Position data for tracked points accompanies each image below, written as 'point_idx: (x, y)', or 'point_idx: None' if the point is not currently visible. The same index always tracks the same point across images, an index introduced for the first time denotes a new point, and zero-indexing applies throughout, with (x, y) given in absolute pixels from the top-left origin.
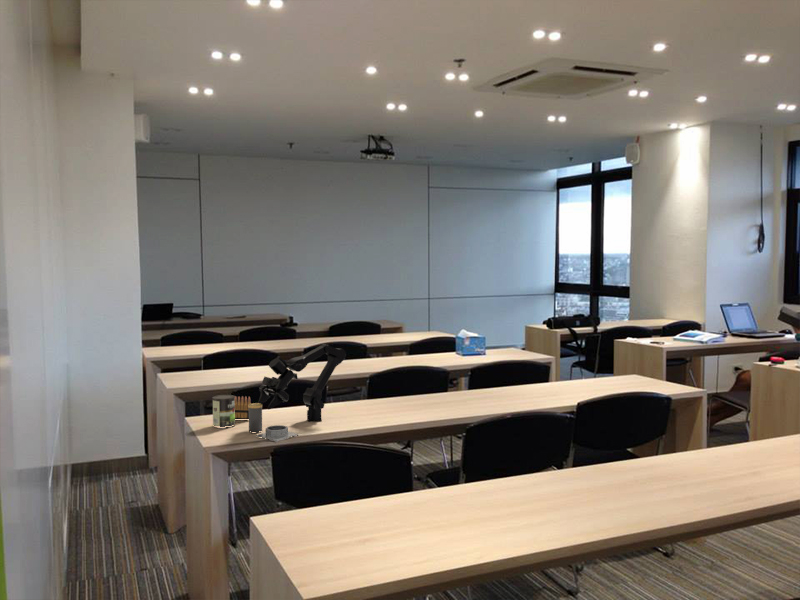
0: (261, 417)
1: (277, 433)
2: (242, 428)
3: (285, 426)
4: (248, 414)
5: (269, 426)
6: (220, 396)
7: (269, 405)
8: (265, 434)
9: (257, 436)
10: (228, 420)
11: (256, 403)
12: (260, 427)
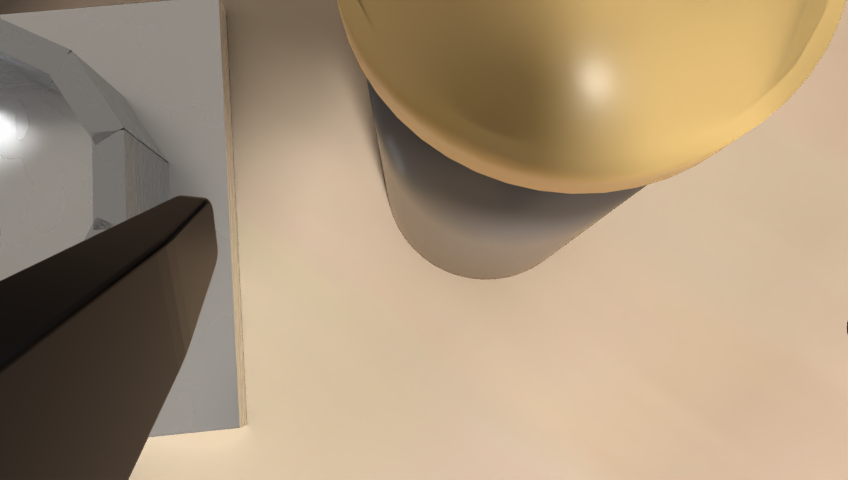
0: (392, 169)
1: None
2: (784, 164)
3: None
4: None
5: (117, 172)
6: None
7: (106, 231)
8: (147, 110)
9: (189, 3)
10: None
11: (747, 71)
12: (386, 184)
